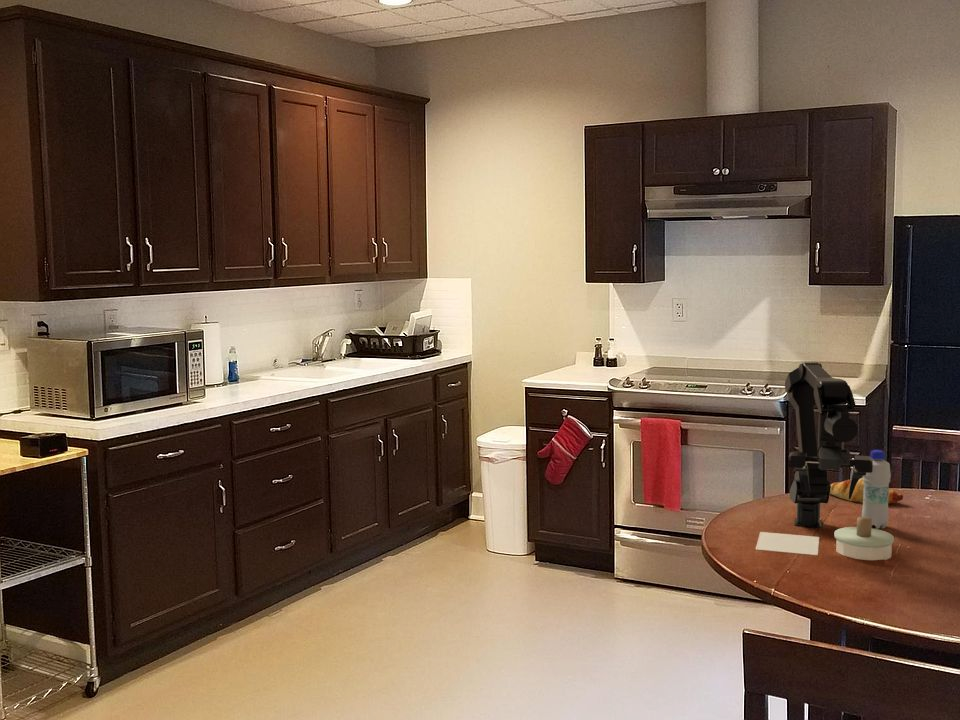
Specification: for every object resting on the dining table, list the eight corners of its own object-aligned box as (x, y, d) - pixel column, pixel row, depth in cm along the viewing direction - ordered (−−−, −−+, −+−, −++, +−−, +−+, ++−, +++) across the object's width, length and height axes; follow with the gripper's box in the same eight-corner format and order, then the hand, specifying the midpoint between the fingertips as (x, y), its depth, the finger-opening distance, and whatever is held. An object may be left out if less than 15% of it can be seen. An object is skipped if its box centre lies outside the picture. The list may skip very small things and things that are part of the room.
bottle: (884, 523, 252) (887, 447, 250) (892, 531, 246) (895, 453, 243) (857, 522, 253) (859, 446, 250) (864, 530, 246) (867, 452, 244)
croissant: (821, 507, 279) (817, 486, 275) (832, 485, 286) (828, 463, 282) (900, 518, 266) (897, 496, 263) (909, 494, 273) (906, 472, 269)
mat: (760, 533, 246) (760, 531, 246) (819, 538, 241) (819, 537, 241) (755, 550, 233) (755, 549, 233) (817, 556, 228) (817, 555, 228)
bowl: (836, 542, 238) (836, 528, 237) (889, 547, 234) (890, 533, 233) (835, 558, 227) (836, 543, 226) (892, 563, 222) (892, 548, 222)
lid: (834, 527, 238) (835, 508, 237) (892, 532, 233) (893, 513, 233) (833, 544, 226) (834, 524, 225) (895, 549, 221) (895, 529, 221)
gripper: (787, 437, 228) (786, 503, 230) (874, 442, 221) (871, 509, 223) (790, 428, 238) (788, 490, 240) (873, 432, 232) (870, 496, 234)
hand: (829, 497), depth 234 cm, fingers open, 9 cm apart
